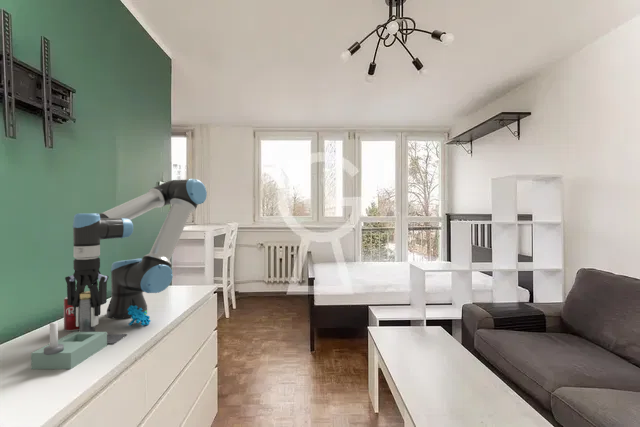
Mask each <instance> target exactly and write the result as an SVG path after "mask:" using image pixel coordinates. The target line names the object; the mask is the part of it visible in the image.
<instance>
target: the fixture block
mask: <svg viewBox="0 0 640 427" xmlns="http://www.w3.org/2000/svg"><path fill="white" fill-rule="evenodd" d="M58 324H59V322H58V321H57V322H56V321H53V322H50V323H49V344H47V345H45V346H43V347H41V348H39V349H36V350H34V351H33V352H31V353H30V359H31V360H30V364H31V365H30V366H31V367H30V369H31V370H71V369H73V368H74V367H77V366H78V365H79V364H81V363H83V362H84V361H85V360H87V359H89V358H90V357H92V356H93V355H95V354H96V353H98V352H100V351H101V350H103V348H105V347H107V346H108V344H107V334H108V332H107V331H95V332H79V331H71V332H70V333H68V334H66V335H64V336H62V337H60V338H59V332H58V331H59V325H58Z"/></svg>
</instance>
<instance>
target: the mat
mask: <svg viewBox="0 0 640 427" xmlns="http://www.w3.org/2000/svg"><path fill="white" fill-rule="evenodd" d="M127 336H128V334H127V333H107V345H115V344H116V343H118V342H119V341H120V340H123V337H124V338H125V337H127ZM117 341H118V342H117Z"/></svg>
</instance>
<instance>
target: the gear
mask: <svg viewBox="0 0 640 427" xmlns="http://www.w3.org/2000/svg"><path fill="white" fill-rule="evenodd" d="M137 308H138V307H137V306H136V305H135V306H132V305H131V306H130V307H129V308H128V309H127V310H128V311H129V312H128V314H129V315H132V316H131V317H130V319H131V320H130V322H129V323H128V325H129V326H131V325H133V324H134V323H136V324H139V323H140V325H141V326H144V327H145V326H149V325H150V322H151V321H152V320H151V318H150V316H149V315H148V310H147V311H146V310H145V311H144V312H142V310H143V309H142V308H139V309H137Z"/></svg>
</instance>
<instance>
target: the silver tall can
mask: <svg viewBox="0 0 640 427" xmlns="http://www.w3.org/2000/svg"><path fill="white" fill-rule="evenodd" d="M92 306H93V302H92V298H91V294H90V290H86V291H85V290H84V292H82V293H79V330H78V332H96V325H95V326H93V327H91V307H92Z"/></svg>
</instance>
